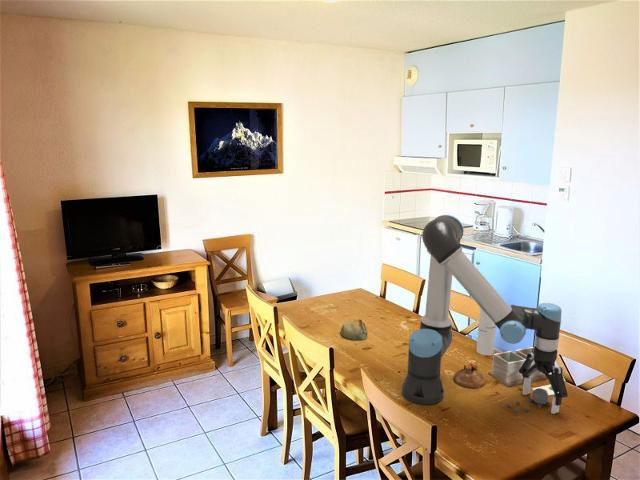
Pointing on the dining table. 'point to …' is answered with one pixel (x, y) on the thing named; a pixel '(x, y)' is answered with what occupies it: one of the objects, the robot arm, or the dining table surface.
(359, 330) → the grey green rock
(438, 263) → the robot arm
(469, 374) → the brown patterned pot lid
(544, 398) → the ball charcoal
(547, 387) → the dot card
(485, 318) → the cylindrical container
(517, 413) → the small grey cubes
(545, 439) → the dining table surface
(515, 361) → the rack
